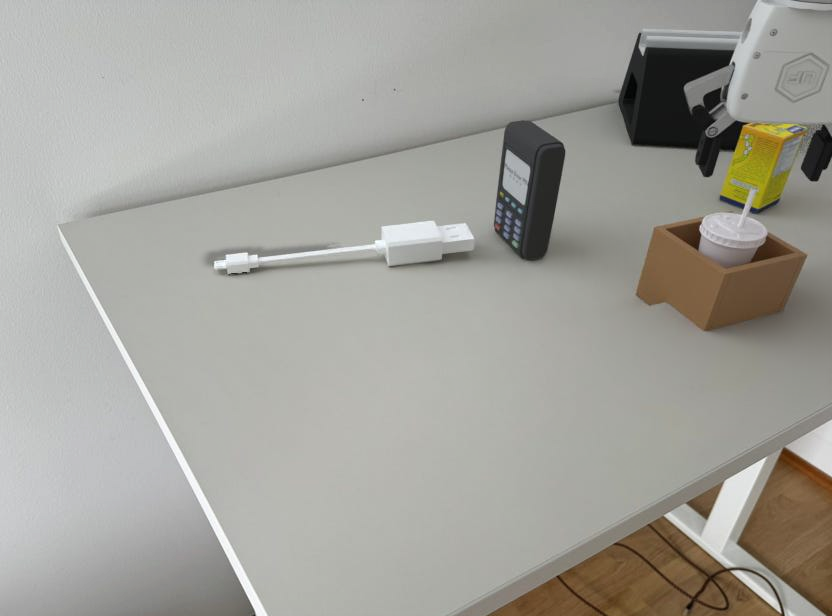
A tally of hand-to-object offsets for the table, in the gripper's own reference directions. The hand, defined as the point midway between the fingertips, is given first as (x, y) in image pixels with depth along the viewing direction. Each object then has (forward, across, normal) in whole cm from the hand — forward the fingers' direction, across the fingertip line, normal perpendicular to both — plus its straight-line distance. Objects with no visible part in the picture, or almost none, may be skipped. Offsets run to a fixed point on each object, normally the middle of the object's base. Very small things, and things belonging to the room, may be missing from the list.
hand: (755, 173), depth 70 cm
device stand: (+17, +9, +59) cm, 62 cm away
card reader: (+16, -21, +12) cm, 29 cm away
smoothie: (+16, -1, 0) cm, 16 cm away
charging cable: (+16, -42, +4) cm, 45 cm away
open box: (+16, -1, 0) cm, 16 cm away
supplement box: (+17, +11, +29) cm, 36 cm away
